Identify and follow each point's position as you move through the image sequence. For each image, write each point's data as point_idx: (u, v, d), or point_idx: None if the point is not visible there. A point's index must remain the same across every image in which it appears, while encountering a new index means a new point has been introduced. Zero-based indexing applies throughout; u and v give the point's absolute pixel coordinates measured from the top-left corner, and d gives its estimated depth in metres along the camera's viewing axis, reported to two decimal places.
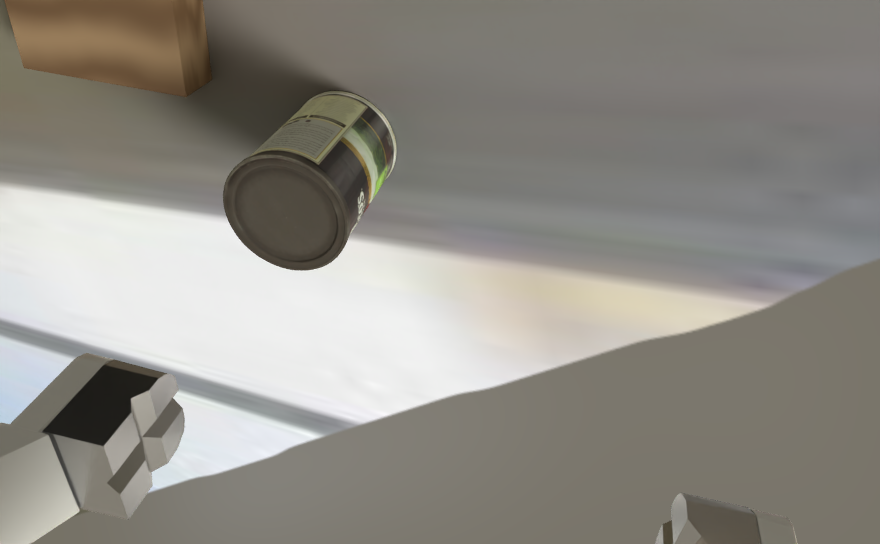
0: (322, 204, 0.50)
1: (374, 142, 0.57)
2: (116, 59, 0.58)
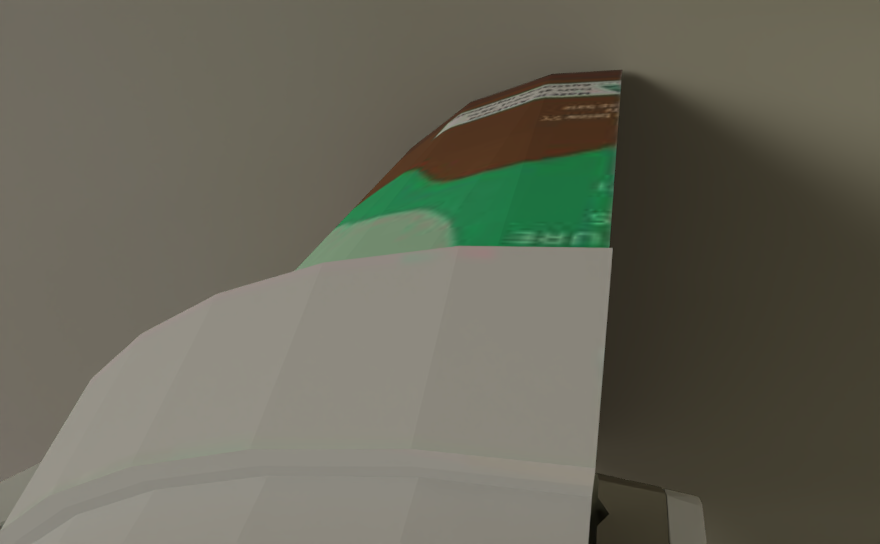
0: None
1: None
2: None
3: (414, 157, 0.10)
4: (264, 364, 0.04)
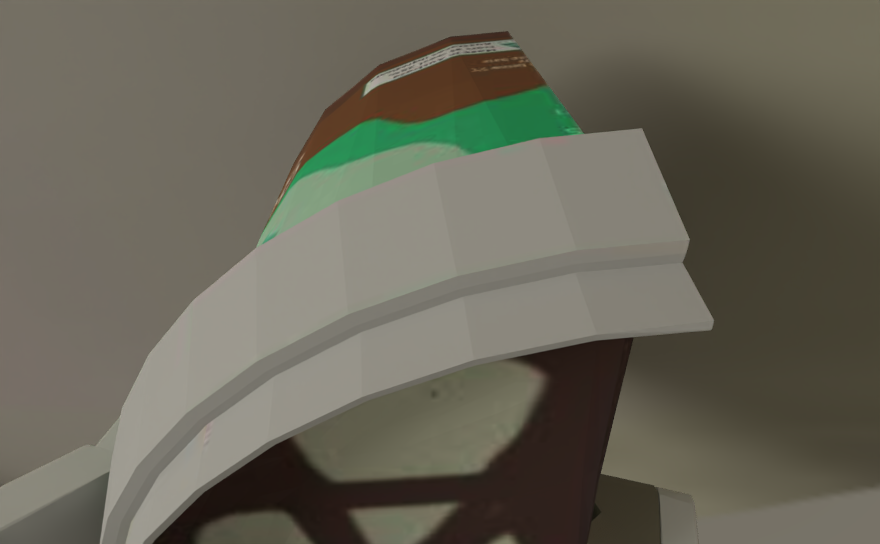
0: None
1: None
2: None
3: (353, 112, 0.12)
4: (429, 230, 0.06)
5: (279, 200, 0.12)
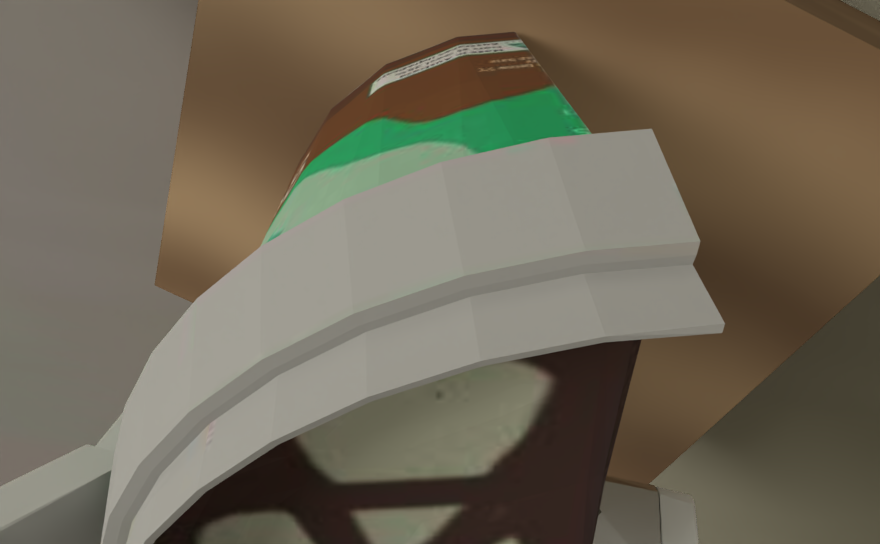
0: None
1: None
2: (506, 13, 0.13)
3: (359, 112, 0.12)
4: (435, 230, 0.05)
5: (284, 199, 0.12)
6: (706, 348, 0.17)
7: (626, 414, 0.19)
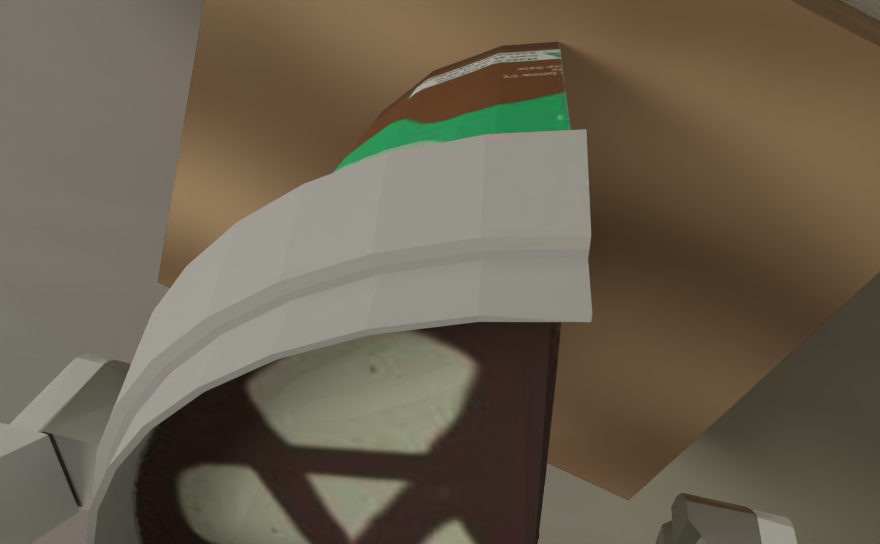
0: None
1: None
2: (509, 11, 0.13)
3: (394, 114, 0.12)
4: (363, 213, 0.06)
5: None
6: (707, 345, 0.17)
7: (627, 411, 0.19)
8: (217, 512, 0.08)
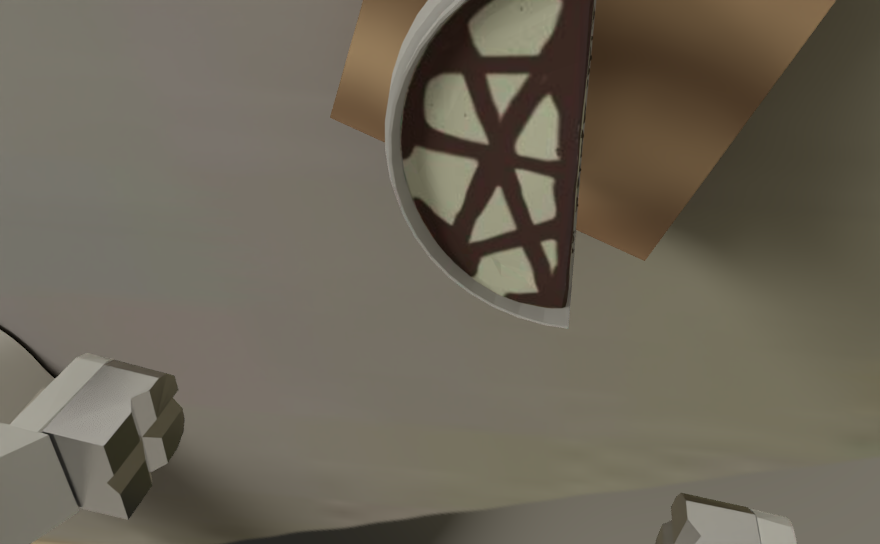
0: None
1: None
2: None
3: None
4: None
5: None
6: (691, 127, 0.27)
7: (642, 185, 0.29)
8: (440, 106, 0.19)
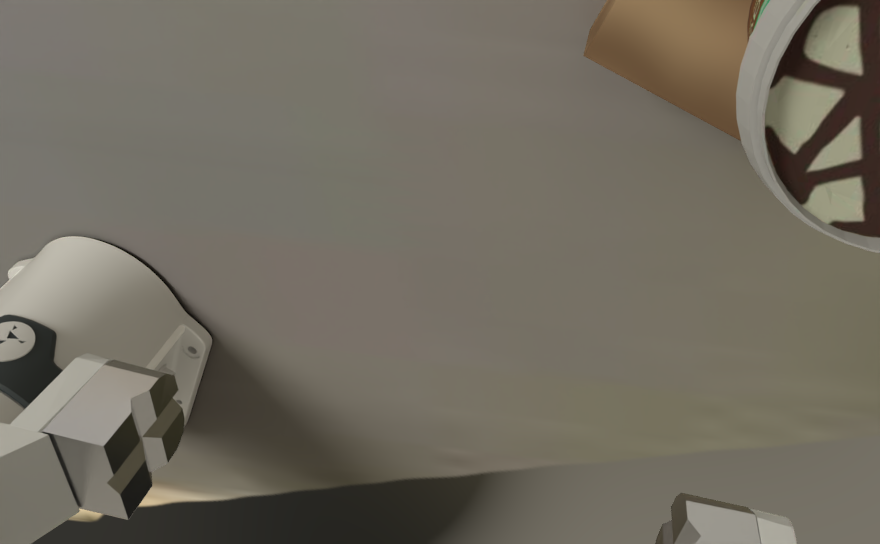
0: None
1: None
2: None
3: None
4: None
5: None
6: None
7: None
8: (824, 38, 0.21)
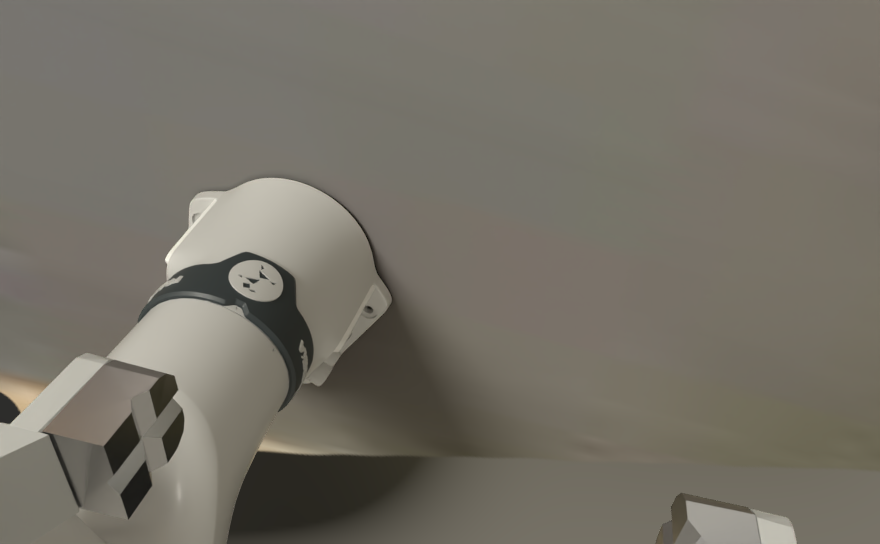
0: None
1: None
2: None
3: None
4: None
5: None
6: None
7: None
8: None
